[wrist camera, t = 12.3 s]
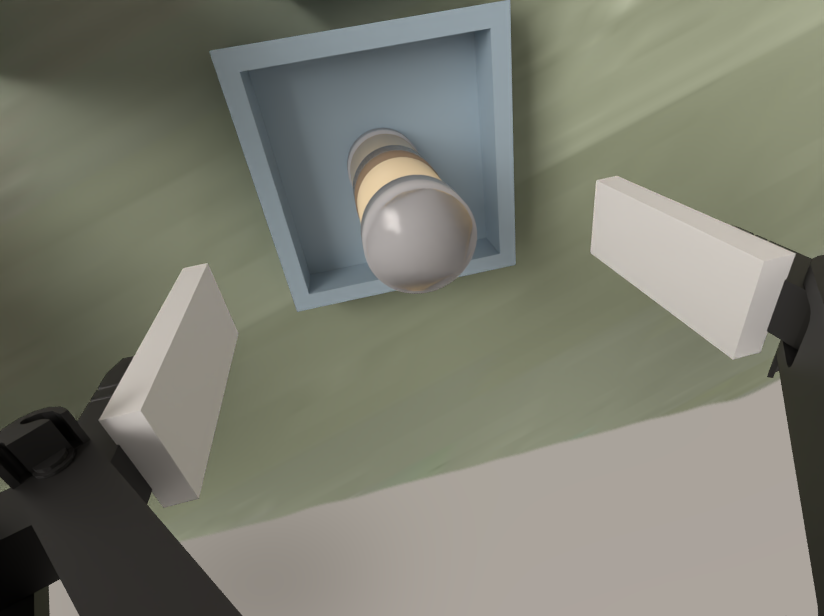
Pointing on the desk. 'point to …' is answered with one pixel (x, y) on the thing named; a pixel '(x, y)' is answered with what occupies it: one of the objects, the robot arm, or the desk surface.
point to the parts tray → (367, 109)
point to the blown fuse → (408, 215)
